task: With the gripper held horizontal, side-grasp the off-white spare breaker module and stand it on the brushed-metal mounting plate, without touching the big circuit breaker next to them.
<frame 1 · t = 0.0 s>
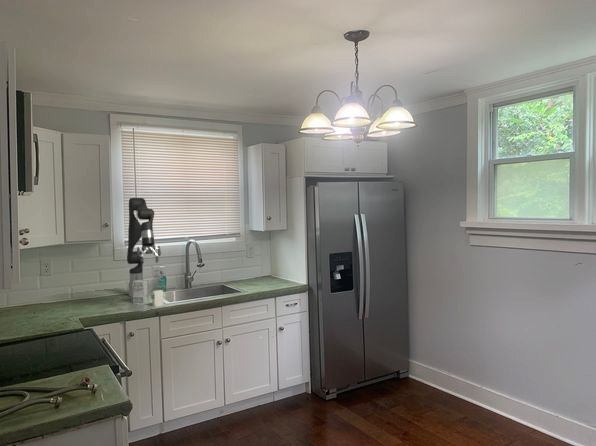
hand: (149, 262, 282), 31 cm above the worktop, tool tilted 20°, fingers open, 8 cm apart
breaker module: (158, 305, 302), on the worktop
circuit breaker: (142, 301, 315), on the worktop
mounting plate: (137, 308, 295), on the worktop
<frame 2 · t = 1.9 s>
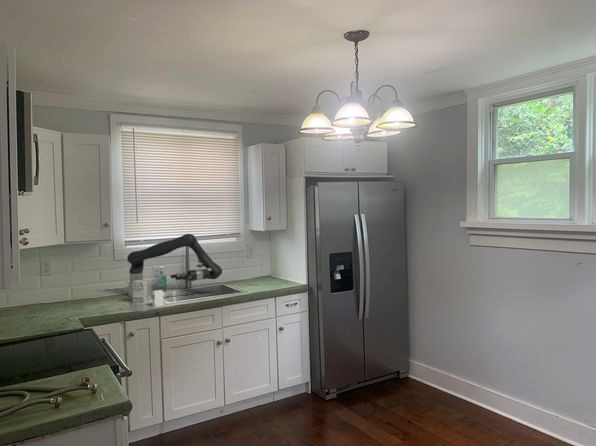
hand: (173, 277, 308), 18 cm above the worktop, tool horizontal, fingers open, 8 cm apart
nothing on the worktop moved.
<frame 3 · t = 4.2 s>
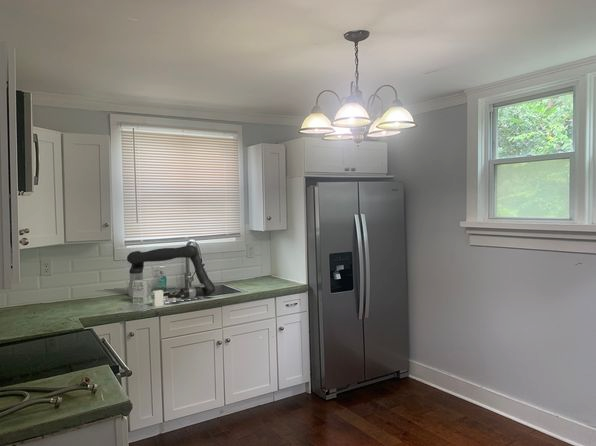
hand: (165, 295, 305), 6 cm above the worktop, tool horizontal, fingers open, 8 cm apart
nothing on the worktop moved.
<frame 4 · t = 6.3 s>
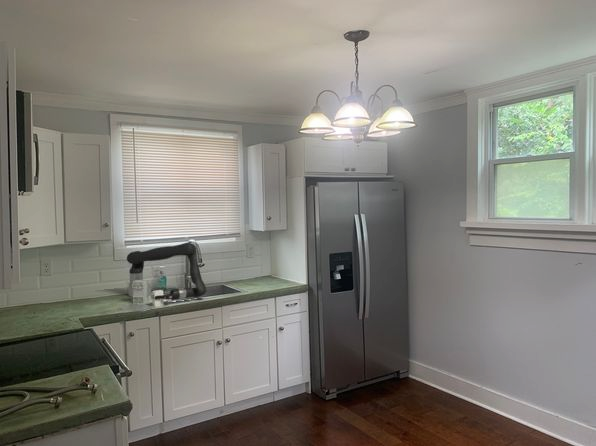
hand: (153, 297, 300), 6 cm above the worktop, tool horizontal, fingers closed on breaker module, 4 cm apart
breaker module: (158, 305, 302), on the worktop, touching gripper
everything else where it was.
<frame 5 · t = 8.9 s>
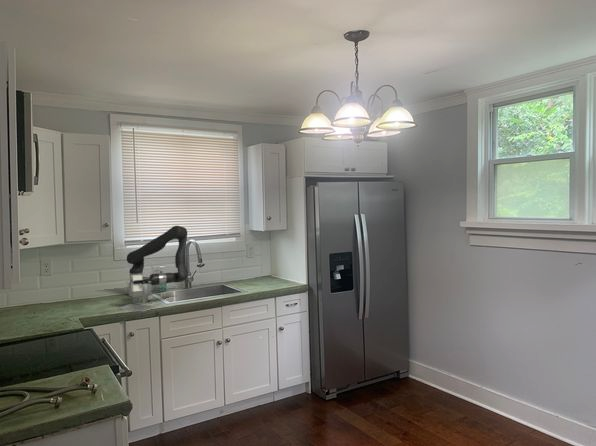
hand: (132, 281, 292), 18 cm above the worktop, tool horizontal, fingers closed on breaker module, 4 cm apart
breaker module: (136, 290, 294), point 12 cm above the worktop, touching gripper
everything else where it was.
when the fingers open (8 cm above the worktop, at t = 11.4 s): breaker module drops 1 cm, resting on mounting plate.
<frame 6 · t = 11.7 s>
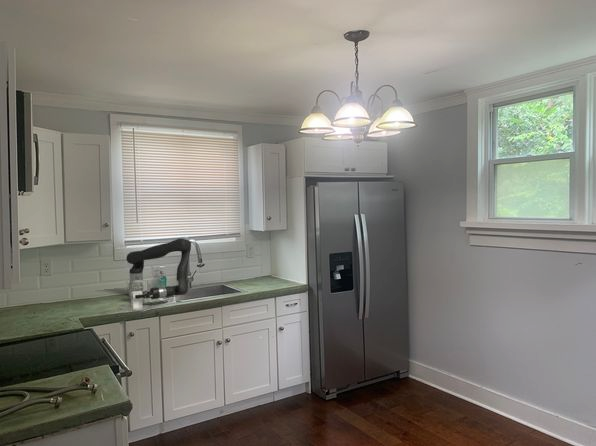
hand: (133, 296, 293), 8 cm above the worktop, tool horizontal, fingers open, 7 cm apart
breaker module: (136, 306, 295), point 1 cm above the worktop, touching mounting plate
everything else where it was.
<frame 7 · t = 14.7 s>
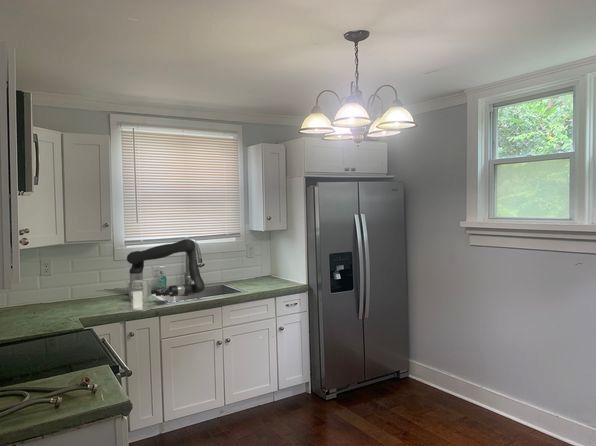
hand: (153, 293, 301), 8 cm above the worktop, tool horizontal, fingers open, 8 cm apart
nothing on the worktop moved.
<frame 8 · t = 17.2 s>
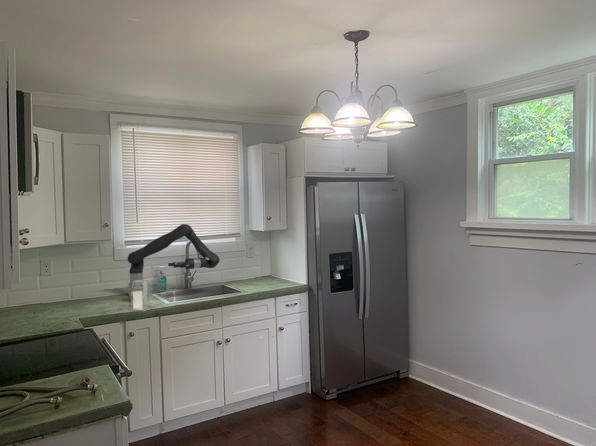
hand: (170, 265, 309), 26 cm above the worktop, tool horizontal, fingers open, 8 cm apart
nothing on the worktop moved.
at the end: breaker module inside the target area (0.2 cm from its centre), point 0.8 cm above the worktop; breaker module tilted 0°; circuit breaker moved 0.2 cm from its start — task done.
